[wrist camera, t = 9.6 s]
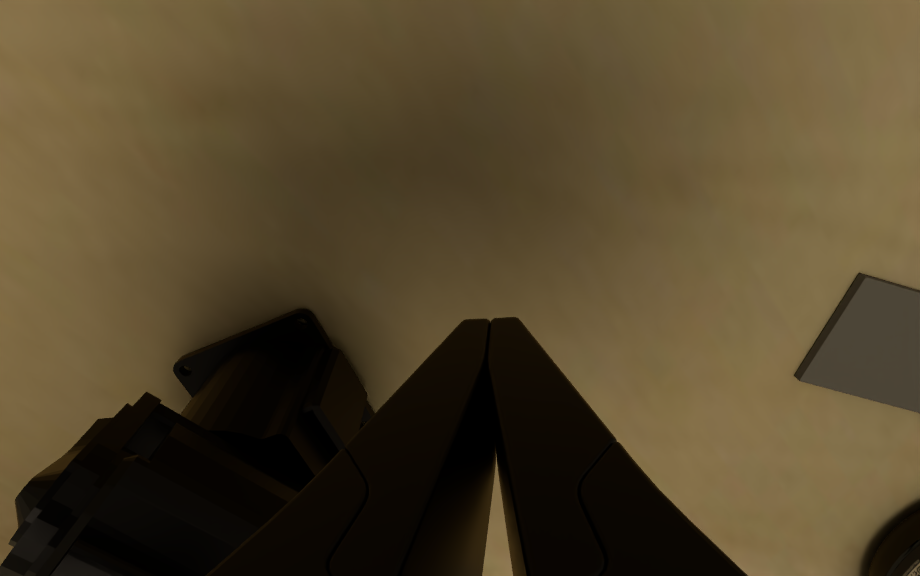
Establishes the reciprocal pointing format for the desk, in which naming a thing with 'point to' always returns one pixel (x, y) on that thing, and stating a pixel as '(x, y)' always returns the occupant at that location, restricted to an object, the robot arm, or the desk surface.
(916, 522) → the supplement container
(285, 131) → the desk surface
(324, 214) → the desk surface
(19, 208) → the desk surface
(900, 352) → the pads
